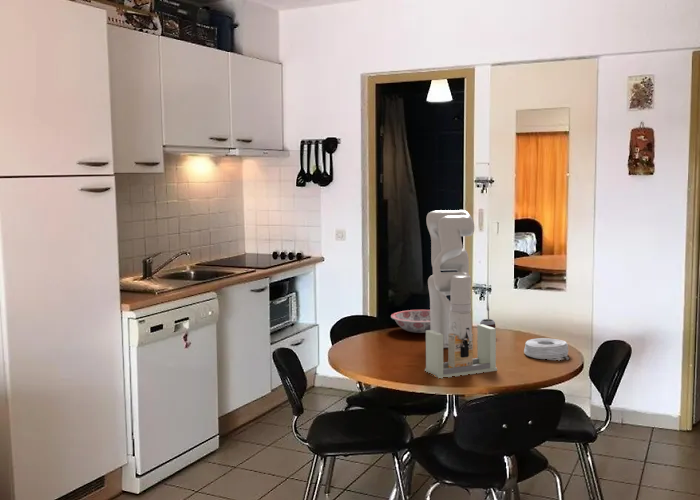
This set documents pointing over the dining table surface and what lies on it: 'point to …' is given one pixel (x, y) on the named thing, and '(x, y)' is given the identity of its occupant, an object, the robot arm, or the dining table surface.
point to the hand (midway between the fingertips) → (460, 354)
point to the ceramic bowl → (413, 320)
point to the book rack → (480, 365)
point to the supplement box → (458, 352)
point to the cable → (546, 349)
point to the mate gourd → (488, 320)
